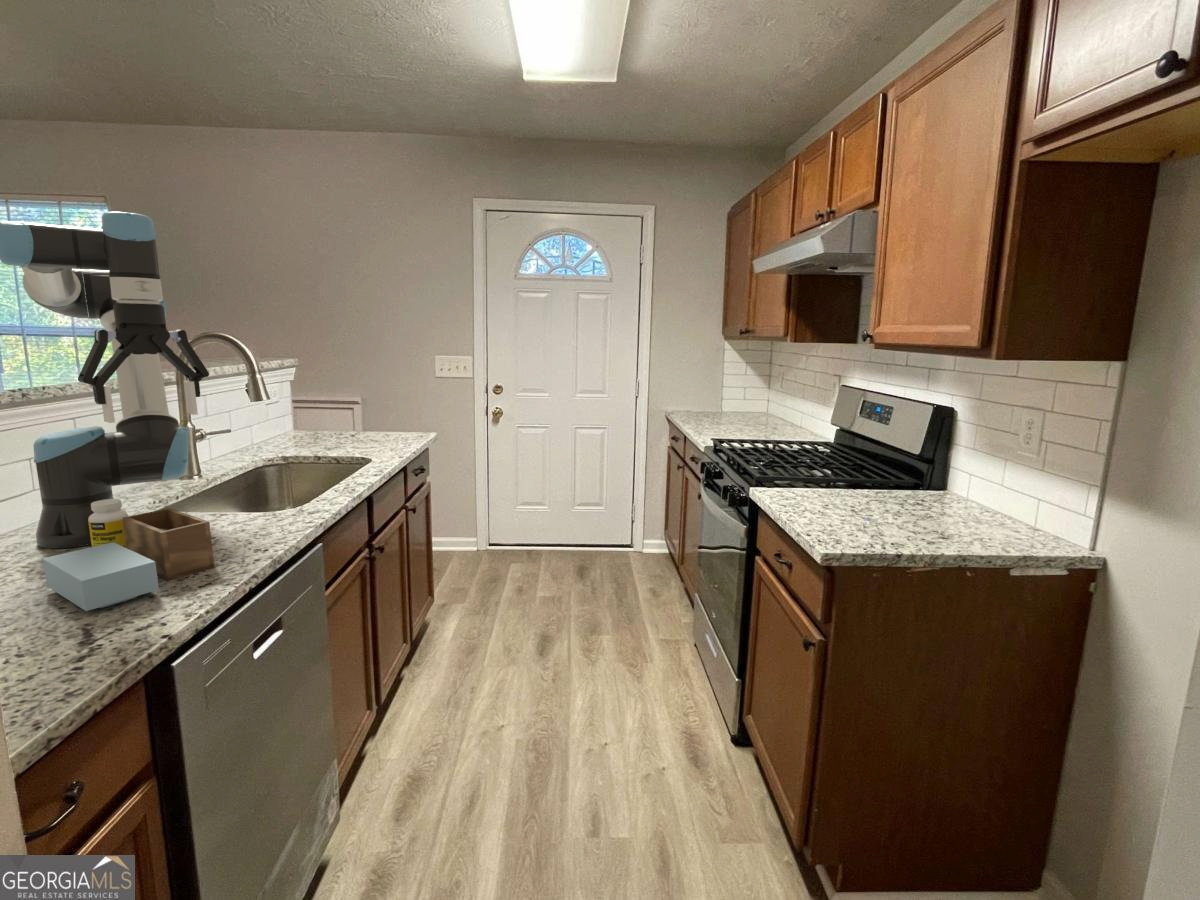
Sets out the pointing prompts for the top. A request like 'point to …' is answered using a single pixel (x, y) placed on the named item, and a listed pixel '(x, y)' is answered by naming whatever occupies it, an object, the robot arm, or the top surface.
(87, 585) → the light blue block
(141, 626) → the top surface
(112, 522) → the pill bottle
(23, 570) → the top surface
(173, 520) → the box
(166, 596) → the top surface
